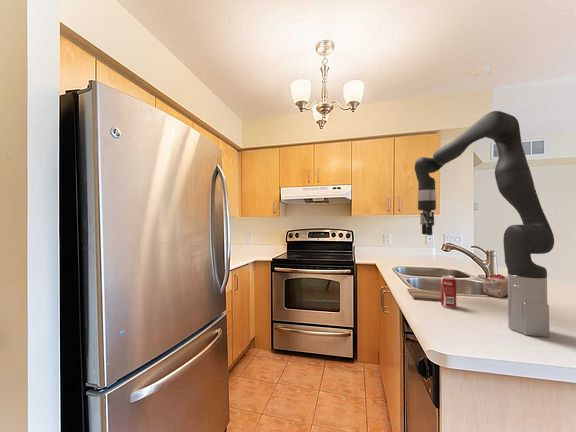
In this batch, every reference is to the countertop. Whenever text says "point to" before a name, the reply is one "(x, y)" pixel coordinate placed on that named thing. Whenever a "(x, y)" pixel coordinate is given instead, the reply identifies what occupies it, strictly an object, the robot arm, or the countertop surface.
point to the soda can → (448, 291)
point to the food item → (496, 286)
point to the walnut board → (425, 294)
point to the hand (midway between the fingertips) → (426, 234)
